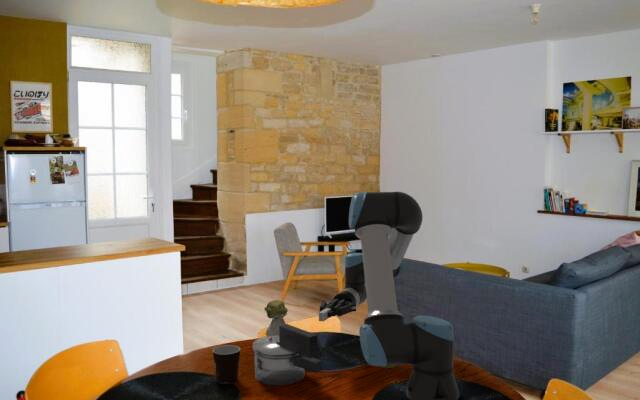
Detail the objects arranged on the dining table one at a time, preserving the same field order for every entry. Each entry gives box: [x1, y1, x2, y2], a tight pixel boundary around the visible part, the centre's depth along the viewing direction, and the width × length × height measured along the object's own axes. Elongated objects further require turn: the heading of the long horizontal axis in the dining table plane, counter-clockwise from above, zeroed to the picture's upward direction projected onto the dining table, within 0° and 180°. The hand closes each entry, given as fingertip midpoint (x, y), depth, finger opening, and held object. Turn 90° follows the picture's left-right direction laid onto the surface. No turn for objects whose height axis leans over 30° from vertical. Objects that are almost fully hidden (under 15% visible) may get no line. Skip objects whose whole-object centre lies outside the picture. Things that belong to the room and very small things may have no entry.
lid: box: [252, 323, 318, 358], centre depth 185 cm, size 26×17×8 cm
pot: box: [253, 350, 323, 386], centre depth 187 cm, size 28×17×9 cm, turn 48°
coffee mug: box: [212, 344, 241, 384], centre depth 186 cm, size 12×9×10 cm
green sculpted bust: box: [264, 299, 289, 337], centre depth 212 cm, size 14×20×16 cm
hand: (321, 317), depth 189 cm, fingers closed
